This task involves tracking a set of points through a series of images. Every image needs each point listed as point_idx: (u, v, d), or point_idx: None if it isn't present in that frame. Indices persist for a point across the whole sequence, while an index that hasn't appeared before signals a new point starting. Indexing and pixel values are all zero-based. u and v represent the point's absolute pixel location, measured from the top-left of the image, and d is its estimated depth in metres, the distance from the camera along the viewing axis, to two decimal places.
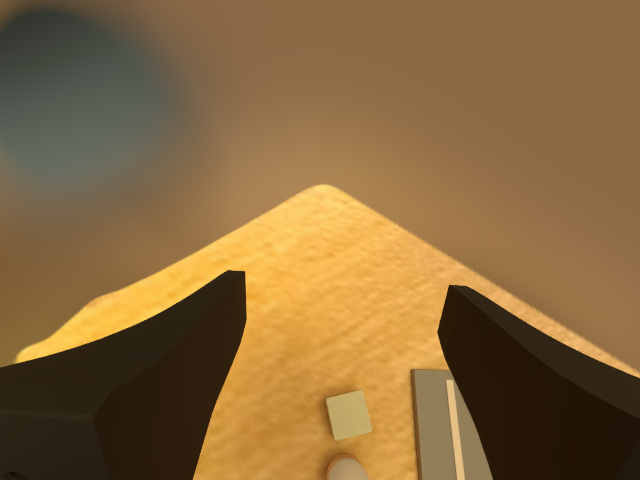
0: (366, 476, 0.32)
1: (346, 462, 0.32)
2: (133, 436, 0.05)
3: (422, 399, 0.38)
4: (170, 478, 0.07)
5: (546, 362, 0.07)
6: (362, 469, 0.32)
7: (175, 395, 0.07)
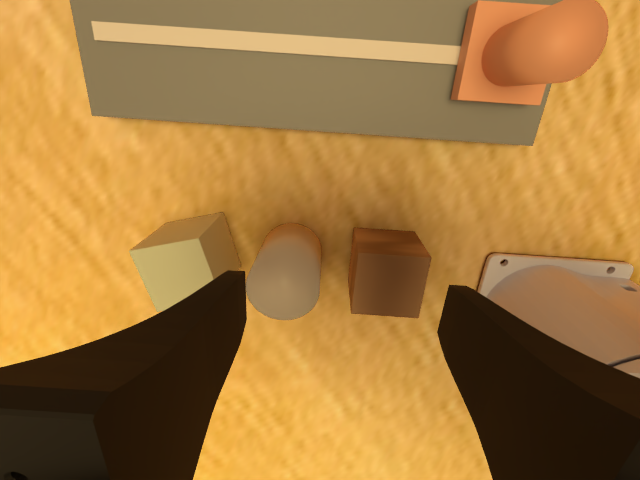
0: (267, 261, 0.17)
1: (248, 291, 0.18)
2: (133, 436, 0.05)
3: (149, 105, 0.18)
4: (170, 478, 0.07)
5: (546, 362, 0.07)
6: (257, 267, 0.17)
7: (175, 396, 0.07)
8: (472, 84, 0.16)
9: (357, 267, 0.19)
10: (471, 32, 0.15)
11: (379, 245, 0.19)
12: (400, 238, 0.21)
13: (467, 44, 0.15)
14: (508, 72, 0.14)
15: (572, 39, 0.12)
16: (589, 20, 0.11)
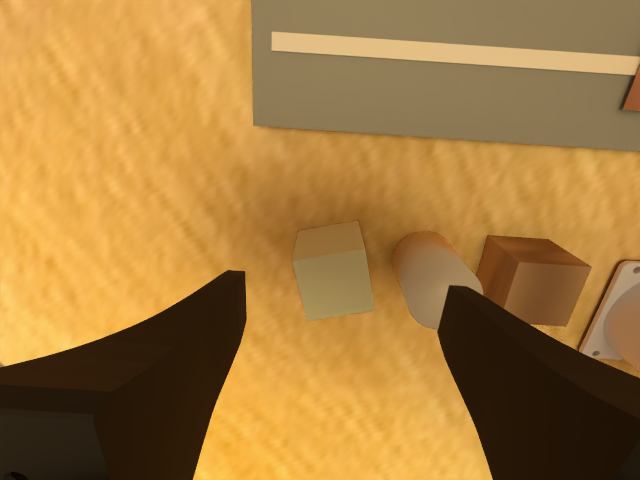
0: (435, 271, 0.17)
1: (409, 301, 0.18)
2: (133, 436, 0.05)
3: (313, 115, 0.18)
4: (170, 478, 0.07)
5: (546, 362, 0.07)
6: (424, 277, 0.17)
7: (175, 396, 0.07)
8: None
9: (514, 276, 0.19)
10: None
11: (531, 254, 0.19)
12: (542, 246, 0.21)
13: None
14: None
15: None
16: None
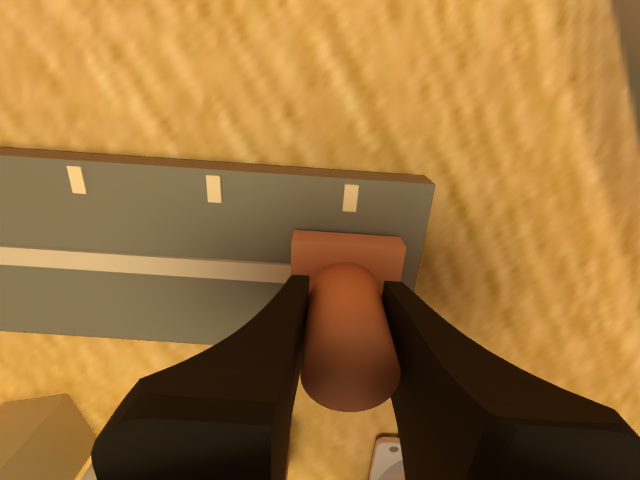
0: None
1: None
2: (276, 445, 0.05)
3: None
4: None
5: (437, 355, 0.07)
6: None
7: (285, 403, 0.07)
8: None
9: None
10: None
11: None
12: None
13: None
14: None
15: (355, 374, 0.09)
16: (373, 357, 0.08)
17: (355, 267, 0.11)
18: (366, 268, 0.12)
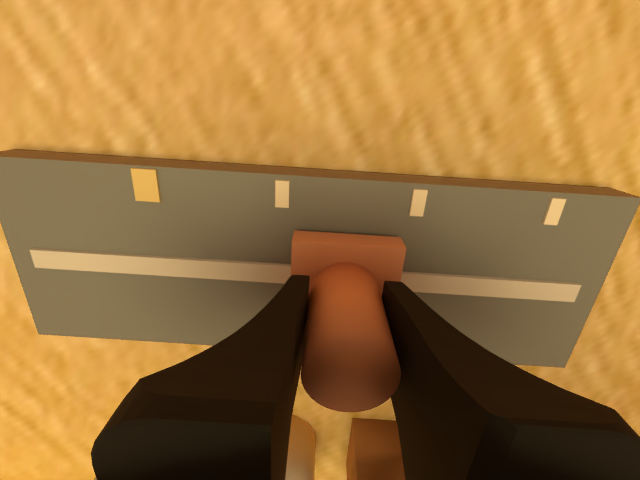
0: None
1: None
2: (277, 445, 0.05)
3: (106, 325, 0.15)
4: None
5: (437, 355, 0.07)
6: None
7: (286, 403, 0.07)
8: None
9: None
10: (291, 270, 0.12)
11: (383, 468, 0.16)
12: None
13: None
14: None
15: (355, 374, 0.09)
16: (373, 358, 0.08)
17: (356, 268, 0.11)
18: (366, 268, 0.12)
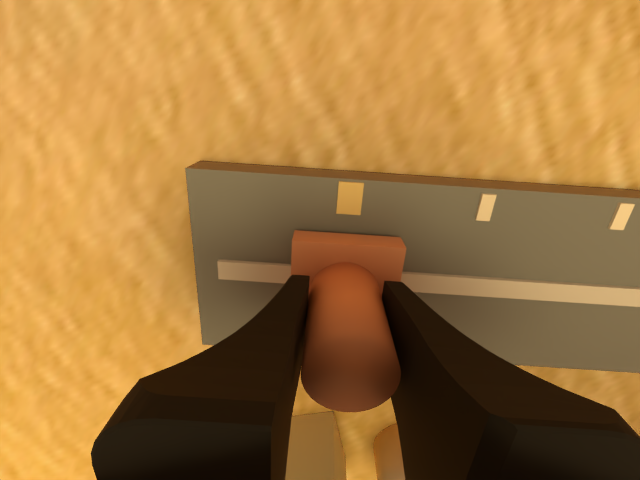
0: None
1: None
2: (277, 445, 0.05)
3: None
4: None
5: (437, 355, 0.07)
6: None
7: (286, 403, 0.07)
8: None
9: None
10: (291, 270, 0.12)
11: None
12: None
13: None
14: None
15: (355, 374, 0.09)
16: (373, 358, 0.08)
17: (356, 268, 0.12)
18: (366, 268, 0.12)
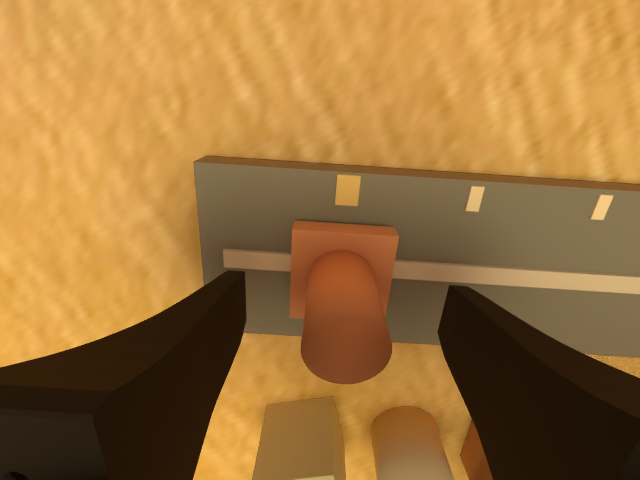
0: None
1: None
2: (133, 436, 0.05)
3: (275, 322, 0.16)
4: (170, 478, 0.07)
5: (546, 362, 0.07)
6: None
7: (174, 396, 0.07)
8: (303, 304, 0.14)
9: None
10: (291, 258, 0.13)
11: None
12: None
13: (291, 266, 0.13)
14: None
15: (350, 348, 0.09)
16: (366, 333, 0.09)
17: (351, 255, 0.12)
18: (362, 256, 0.13)
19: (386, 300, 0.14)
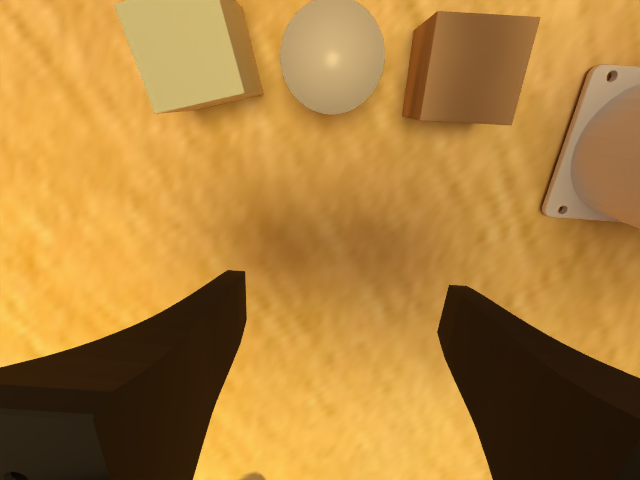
0: (312, 6, 0.12)
1: (283, 64, 0.13)
2: (133, 436, 0.05)
3: None
4: (170, 478, 0.07)
5: (546, 362, 0.07)
6: (297, 17, 0.12)
7: (175, 395, 0.07)
8: None
9: (434, 38, 0.13)
10: None
11: None
12: None
13: None
14: None
15: None
16: None
17: None
18: None
19: None
